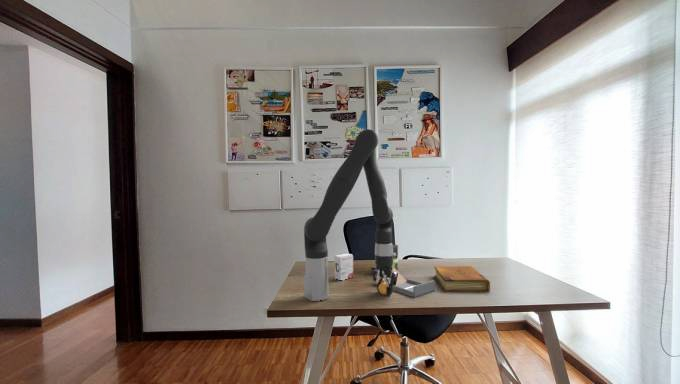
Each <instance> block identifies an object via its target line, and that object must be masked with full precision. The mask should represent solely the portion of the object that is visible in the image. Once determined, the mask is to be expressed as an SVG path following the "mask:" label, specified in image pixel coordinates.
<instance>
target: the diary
mask: <svg viewBox="0 0 680 384" xmlns="http://www.w3.org/2000/svg"><path fill="white" fill-rule="evenodd" d="M433 268H434V270H435V274H434V278H435V280H436V281H437V282H438V283H439V285H440V286H441V288H442V289H443V291H444V292H467V293H468V292H469V293H471V292H473V293H474V292H475V293H490V291H491V281H490V280H489V279H488V278H487V277H485V276H484V275H483V274H482V273H480V272H479V271H478V270H477V269H475V268H474V267H473V266H471V265H469V266H468V265H466V266H465V265H460V266H459V265H434V267H433Z"/></svg>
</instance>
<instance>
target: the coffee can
mask: <svg viewBox="0 0 680 384" xmlns="http://www.w3.org/2000/svg"><path fill="white" fill-rule="evenodd" d="M392 246H393V265H392V267H395V269H396V270H397V271H398V272H399V245H398V244H393V243H392Z"/></svg>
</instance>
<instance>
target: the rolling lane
mask: <svg viewBox="0 0 680 384" xmlns="http://www.w3.org/2000/svg"><path fill="white" fill-rule="evenodd" d="M392 269H393V271H394V272H398V277H397V282H396V285H395V286H392V291H395V292H397V293H399V294H400V293H401V294H403V295H406V296H409V297H411V298H418V297H421V296H424V295H427V294H429V293H433V292H435V290H436V287H435V286H436V282H435V280H430V281H426V282H421V281H417V280H415V279H410V278H406V279H405V278H404V277H403V276H402V274H400V272H399V270H398V271H397V270H396V269H395V267H392ZM375 278H376V275H375ZM387 279H389V278H387ZM383 282H385V280H384V278H383V280H382V282H381V283H383ZM374 284H375V285H376V286H377V283H376V282H375V283H374ZM389 284H390V282H389Z"/></svg>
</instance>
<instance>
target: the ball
mask: <svg viewBox="0 0 680 384" xmlns="http://www.w3.org/2000/svg"><path fill="white" fill-rule="evenodd" d="M378 289H379V292H378V293H380V294H381V295H383V296H385V295H386V296H387V284H386V282H383V283H381V284H380V285H379V287H378Z"/></svg>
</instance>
